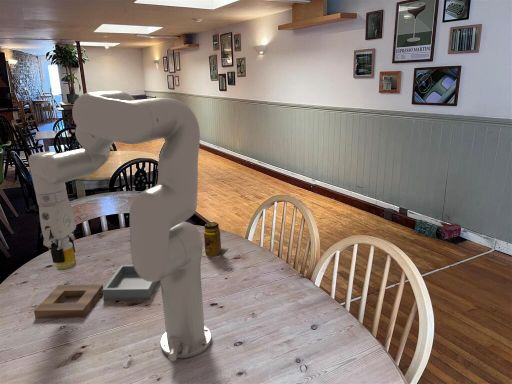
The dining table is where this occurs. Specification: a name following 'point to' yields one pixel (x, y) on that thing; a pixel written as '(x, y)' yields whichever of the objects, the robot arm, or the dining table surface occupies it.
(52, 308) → the socket holder
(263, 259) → the dining table surface
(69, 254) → the supplement bottle
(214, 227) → the condiment
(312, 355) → the dining table surface
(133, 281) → the tray
